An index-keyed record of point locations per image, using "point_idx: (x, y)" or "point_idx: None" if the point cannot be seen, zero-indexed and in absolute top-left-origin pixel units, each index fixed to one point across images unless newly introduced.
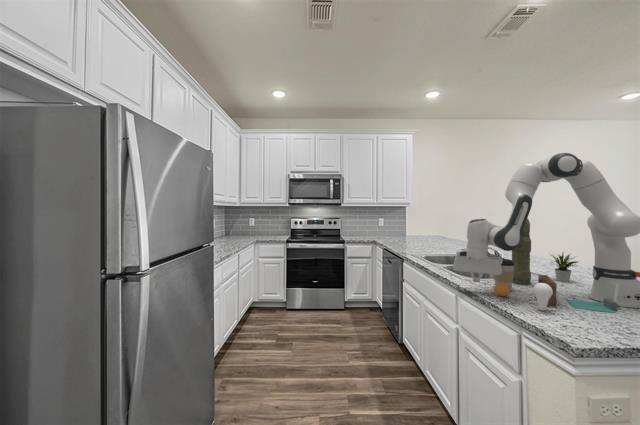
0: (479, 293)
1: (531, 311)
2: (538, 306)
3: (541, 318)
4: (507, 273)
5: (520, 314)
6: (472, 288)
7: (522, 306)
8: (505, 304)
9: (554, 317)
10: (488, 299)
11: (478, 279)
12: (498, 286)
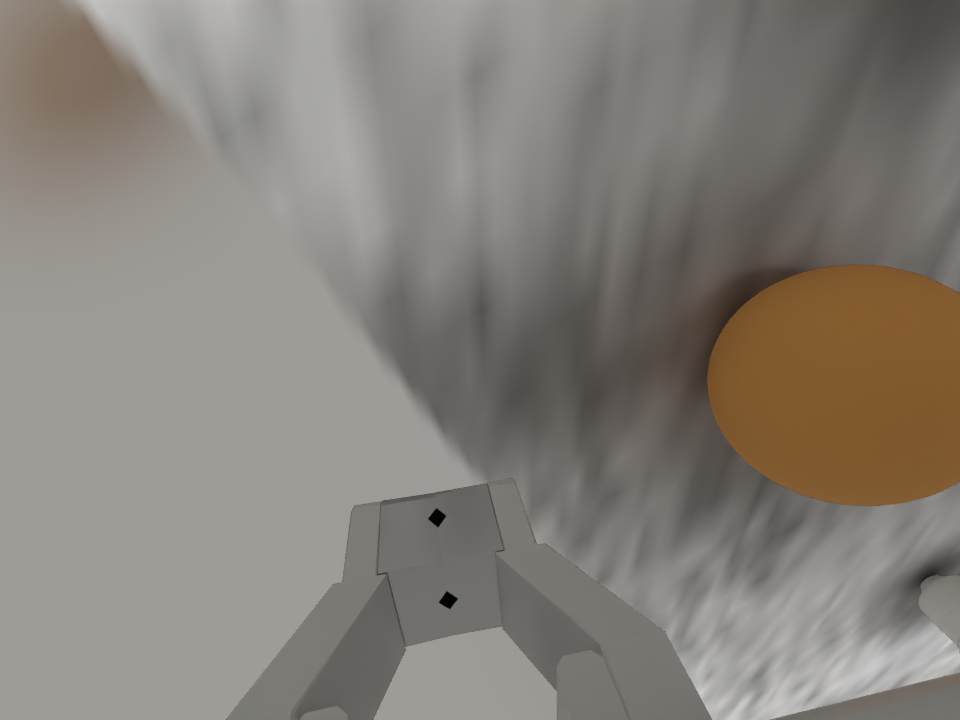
0: (473, 381)
1: (835, 631)
2: (934, 612)
3: (831, 698)
4: None
5: (734, 708)
6: (320, 90)
7: (823, 569)
8: (698, 596)
9: (921, 649)
10: (570, 552)
11: (501, 611)
12: (812, 495)
